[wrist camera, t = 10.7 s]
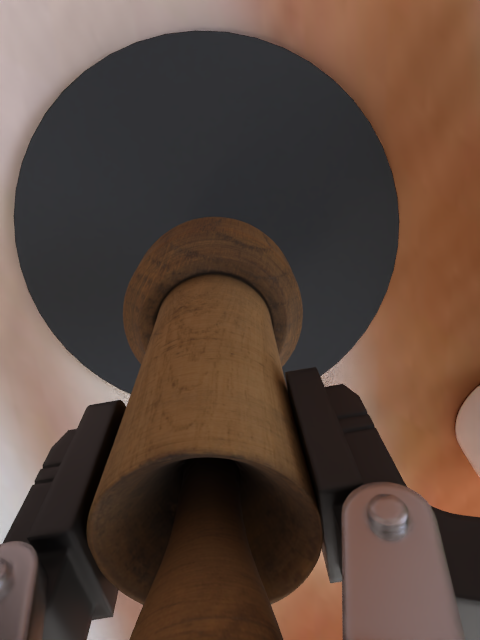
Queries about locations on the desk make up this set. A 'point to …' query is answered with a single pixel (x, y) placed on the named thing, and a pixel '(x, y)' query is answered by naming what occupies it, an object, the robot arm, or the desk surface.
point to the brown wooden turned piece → (208, 441)
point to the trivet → (203, 188)
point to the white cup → (470, 429)
